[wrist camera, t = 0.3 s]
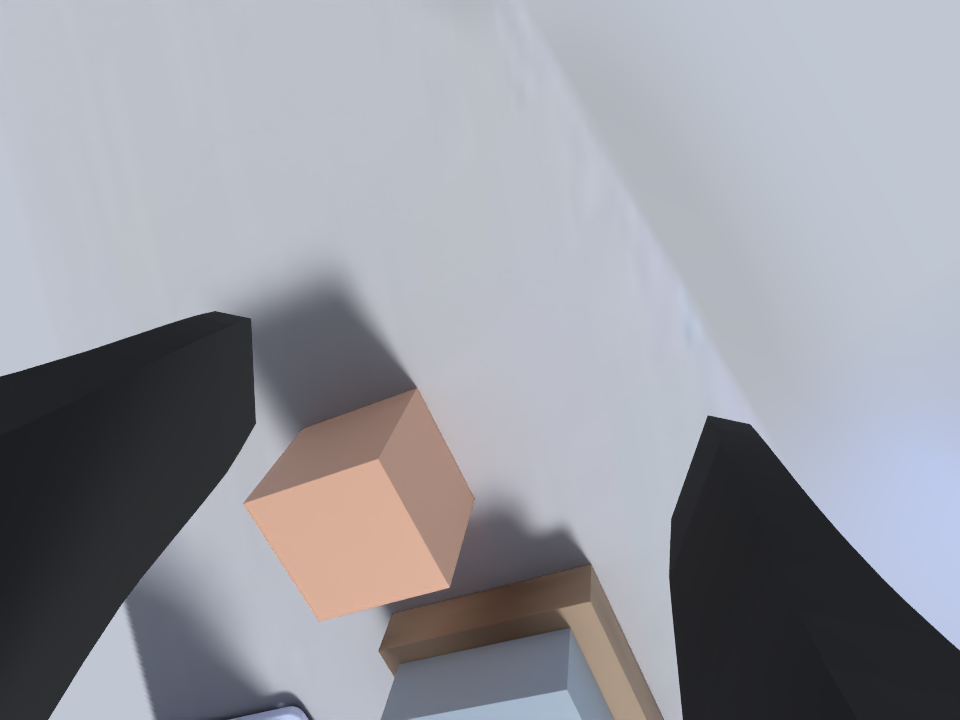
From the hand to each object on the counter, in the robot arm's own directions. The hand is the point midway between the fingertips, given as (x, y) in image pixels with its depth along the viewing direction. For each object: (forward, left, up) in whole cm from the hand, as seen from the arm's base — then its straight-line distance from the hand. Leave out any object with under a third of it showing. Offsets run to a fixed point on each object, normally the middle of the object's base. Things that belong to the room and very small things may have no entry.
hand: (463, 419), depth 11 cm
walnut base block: (-6, -15, -11) cm, 20 cm away
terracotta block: (-7, -5, -10) cm, 14 cm away
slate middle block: (-7, -15, -8) cm, 18 cm away
